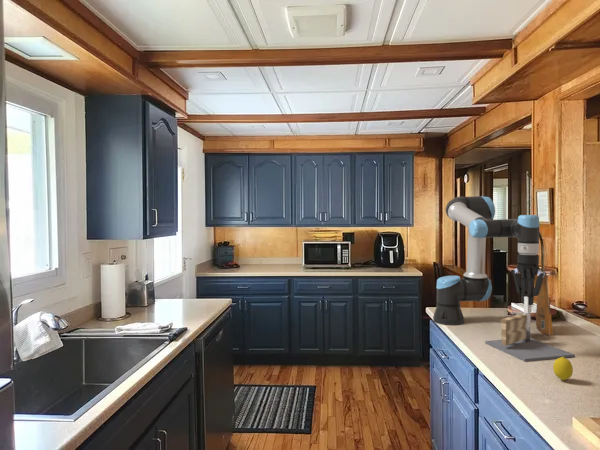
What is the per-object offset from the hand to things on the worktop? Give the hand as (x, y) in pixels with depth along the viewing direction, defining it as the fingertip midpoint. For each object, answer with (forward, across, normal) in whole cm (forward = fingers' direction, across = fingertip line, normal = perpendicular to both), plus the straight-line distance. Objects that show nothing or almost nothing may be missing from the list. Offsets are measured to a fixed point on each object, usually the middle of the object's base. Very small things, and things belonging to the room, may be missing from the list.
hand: (527, 312), depth 172 cm
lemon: (+16, +22, -20) cm, 34 cm away
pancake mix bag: (+17, -12, +37) cm, 43 cm away
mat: (+16, -2, +3) cm, 17 cm away
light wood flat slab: (+14, -6, +2) cm, 15 cm away
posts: (+16, -8, +7) cm, 19 cm away
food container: (+17, -12, +20) cm, 28 cm away
